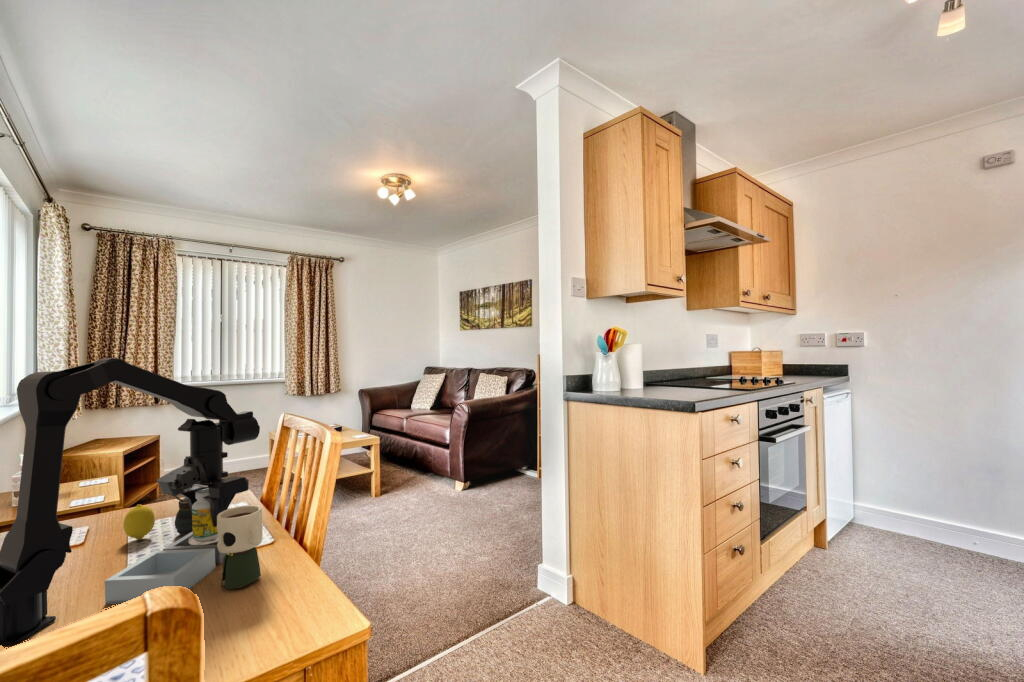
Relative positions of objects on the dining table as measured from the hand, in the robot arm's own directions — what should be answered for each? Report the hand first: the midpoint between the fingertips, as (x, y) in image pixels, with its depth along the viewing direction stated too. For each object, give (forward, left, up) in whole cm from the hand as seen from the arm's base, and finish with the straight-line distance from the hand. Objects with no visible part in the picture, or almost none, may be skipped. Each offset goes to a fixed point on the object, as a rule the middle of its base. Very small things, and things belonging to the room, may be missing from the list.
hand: (207, 524), depth 97 cm
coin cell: (0, 0, -5) cm, 5 cm away
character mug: (-13, -14, -6) cm, 20 cm away
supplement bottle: (0, 0, -3) cm, 3 cm away
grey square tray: (0, 0, -6) cm, 6 cm away
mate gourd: (+12, +11, -6) cm, 18 cm away
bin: (-13, 0, -6) cm, 14 cm away
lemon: (+9, +21, -6) cm, 24 cm away
